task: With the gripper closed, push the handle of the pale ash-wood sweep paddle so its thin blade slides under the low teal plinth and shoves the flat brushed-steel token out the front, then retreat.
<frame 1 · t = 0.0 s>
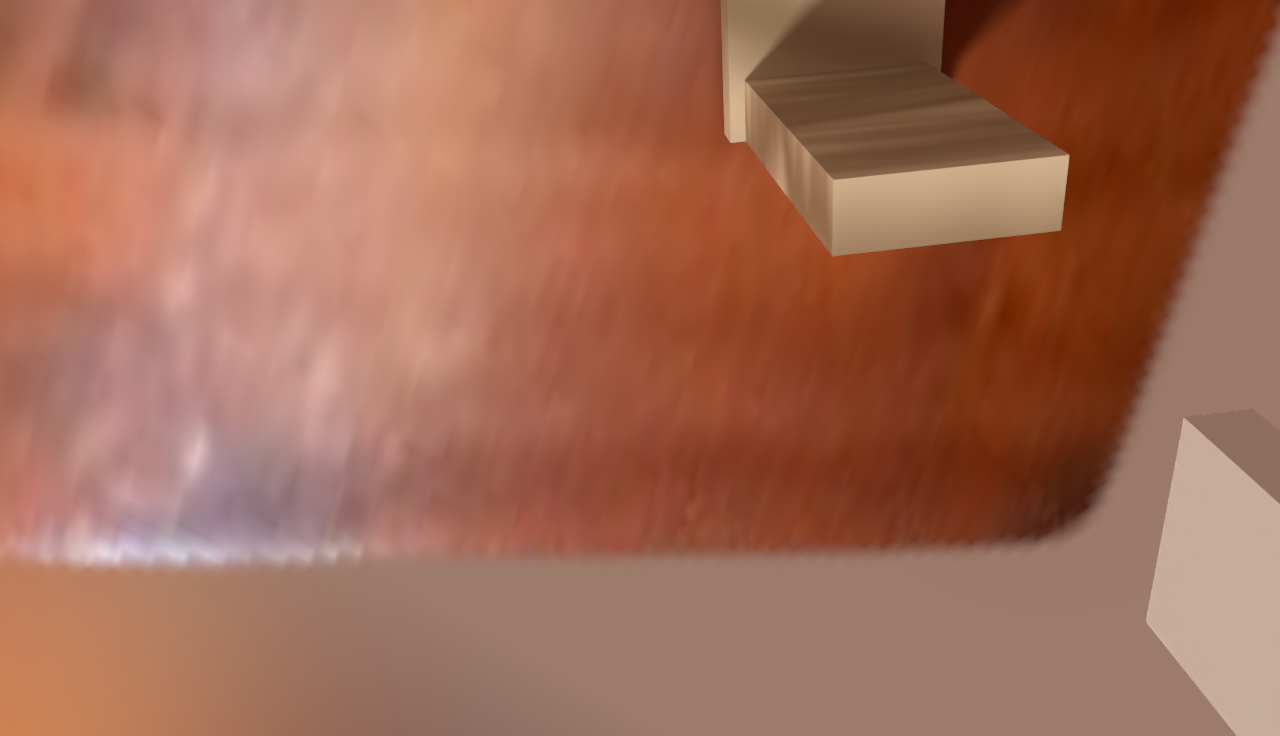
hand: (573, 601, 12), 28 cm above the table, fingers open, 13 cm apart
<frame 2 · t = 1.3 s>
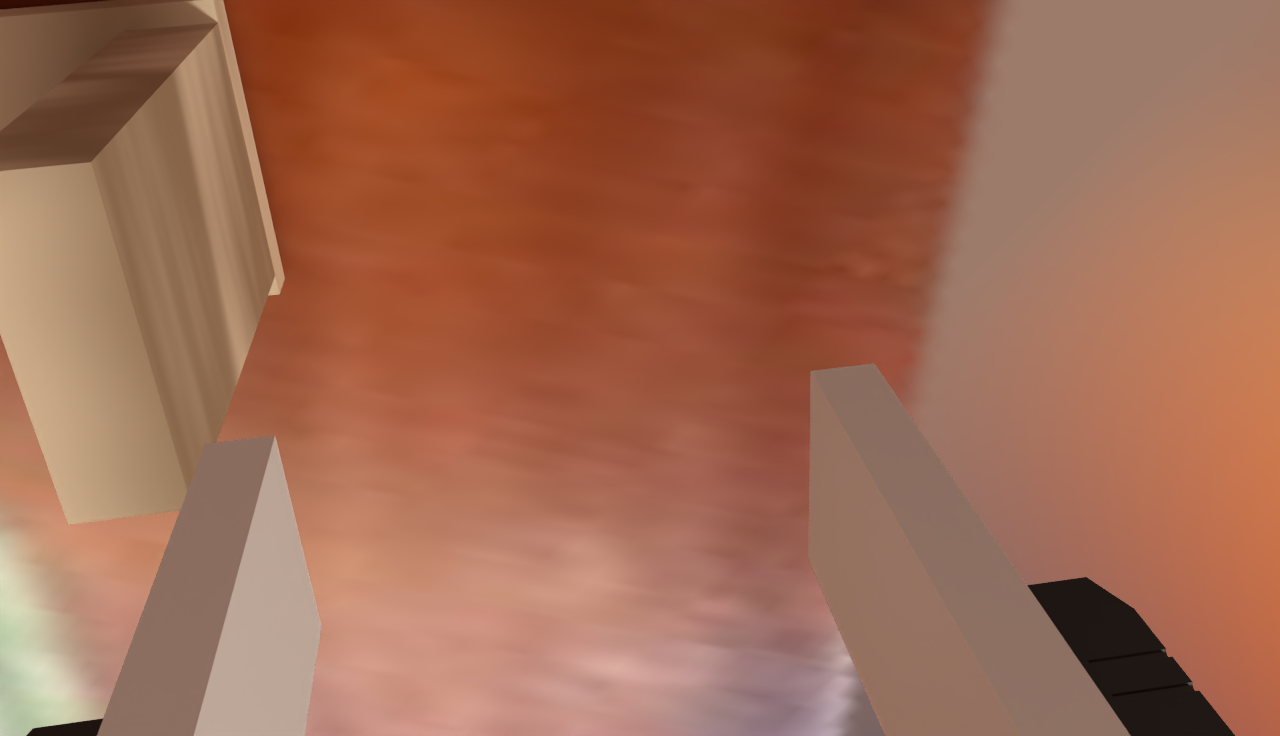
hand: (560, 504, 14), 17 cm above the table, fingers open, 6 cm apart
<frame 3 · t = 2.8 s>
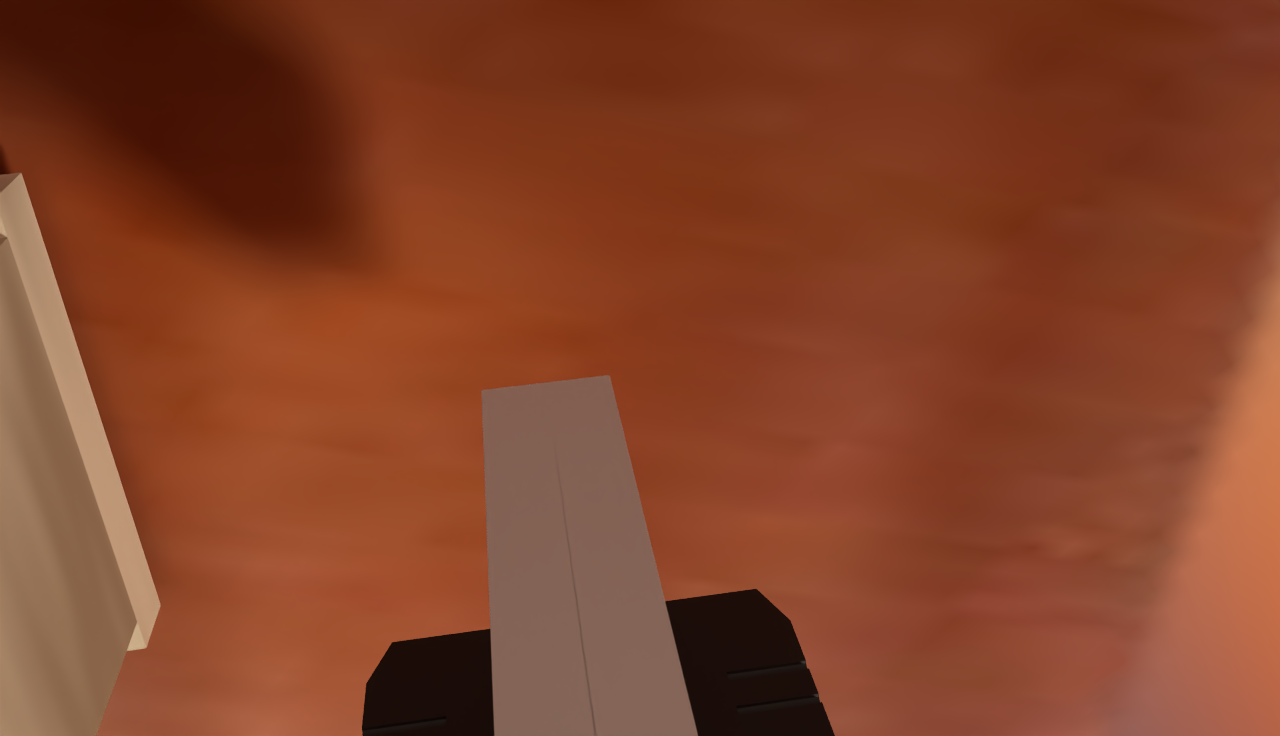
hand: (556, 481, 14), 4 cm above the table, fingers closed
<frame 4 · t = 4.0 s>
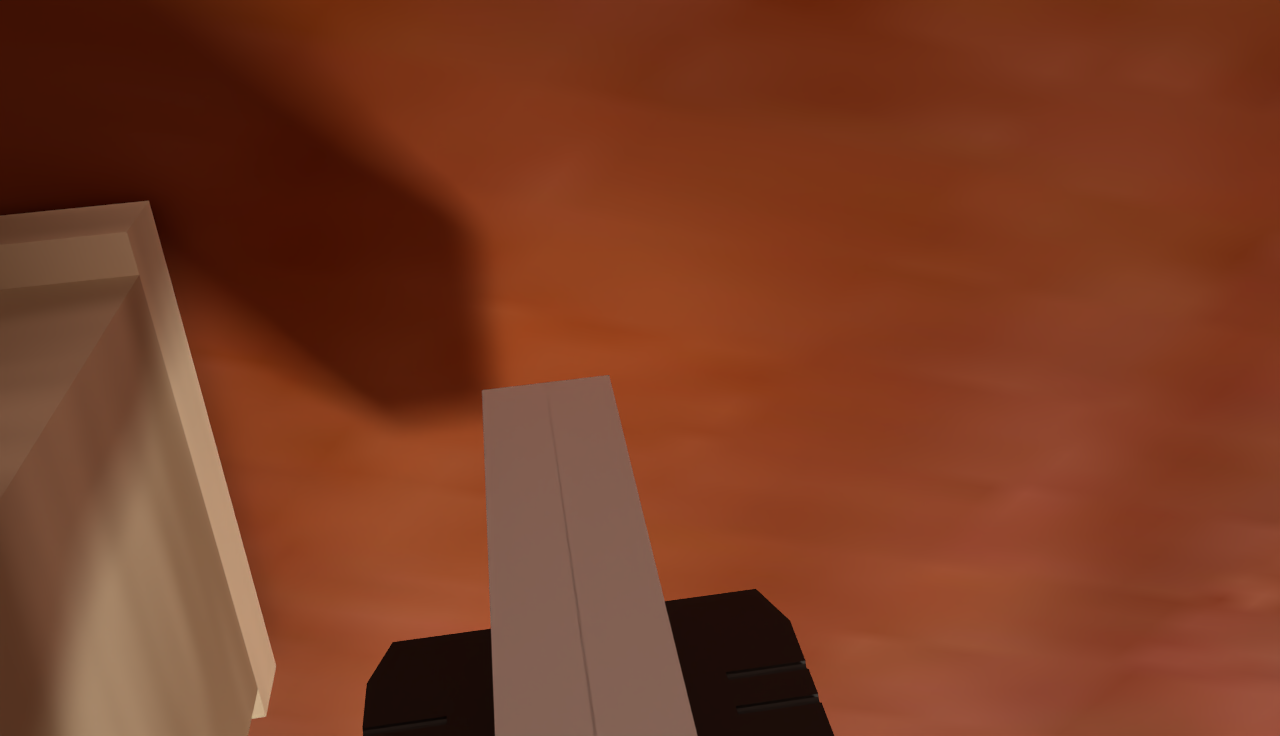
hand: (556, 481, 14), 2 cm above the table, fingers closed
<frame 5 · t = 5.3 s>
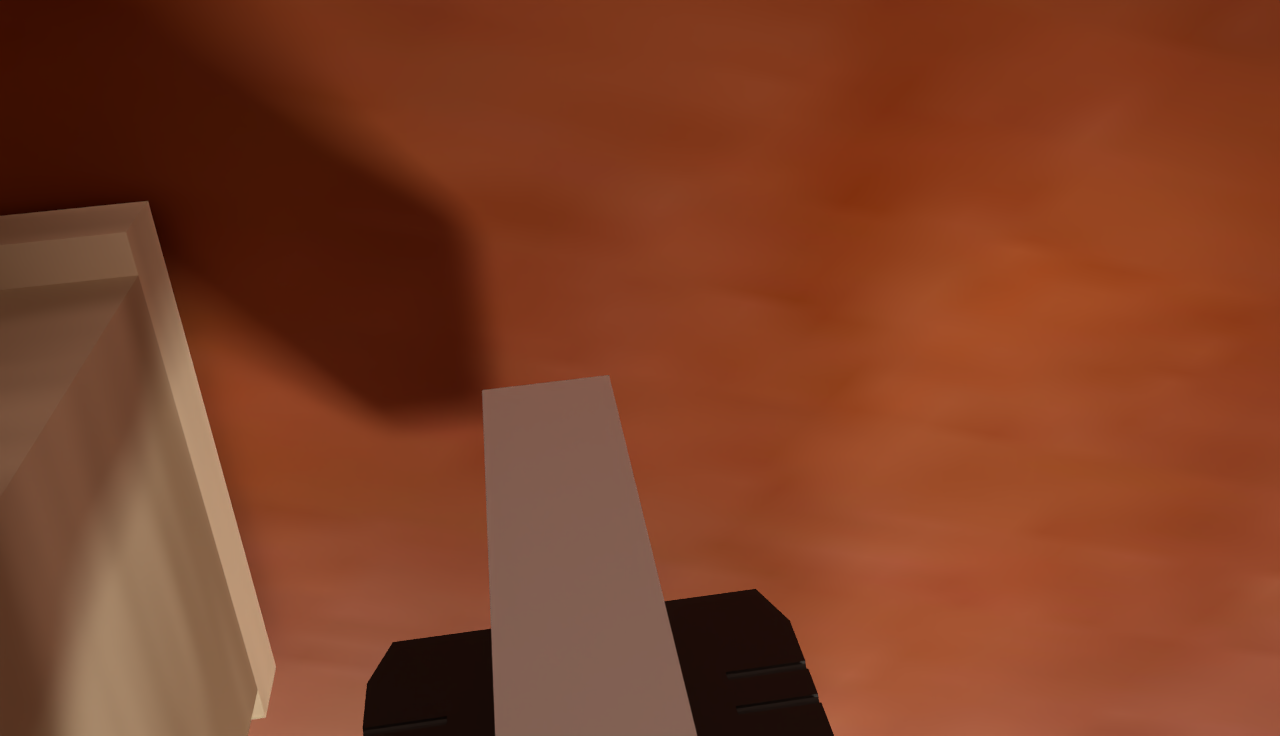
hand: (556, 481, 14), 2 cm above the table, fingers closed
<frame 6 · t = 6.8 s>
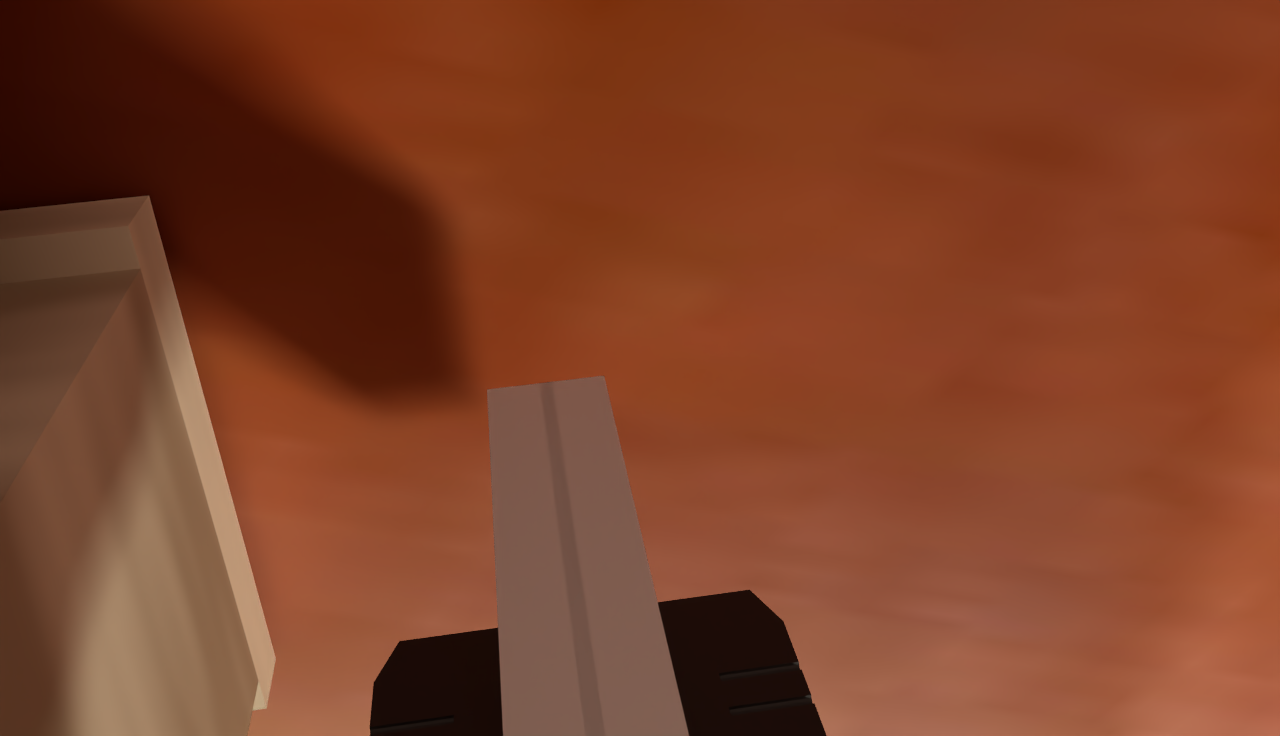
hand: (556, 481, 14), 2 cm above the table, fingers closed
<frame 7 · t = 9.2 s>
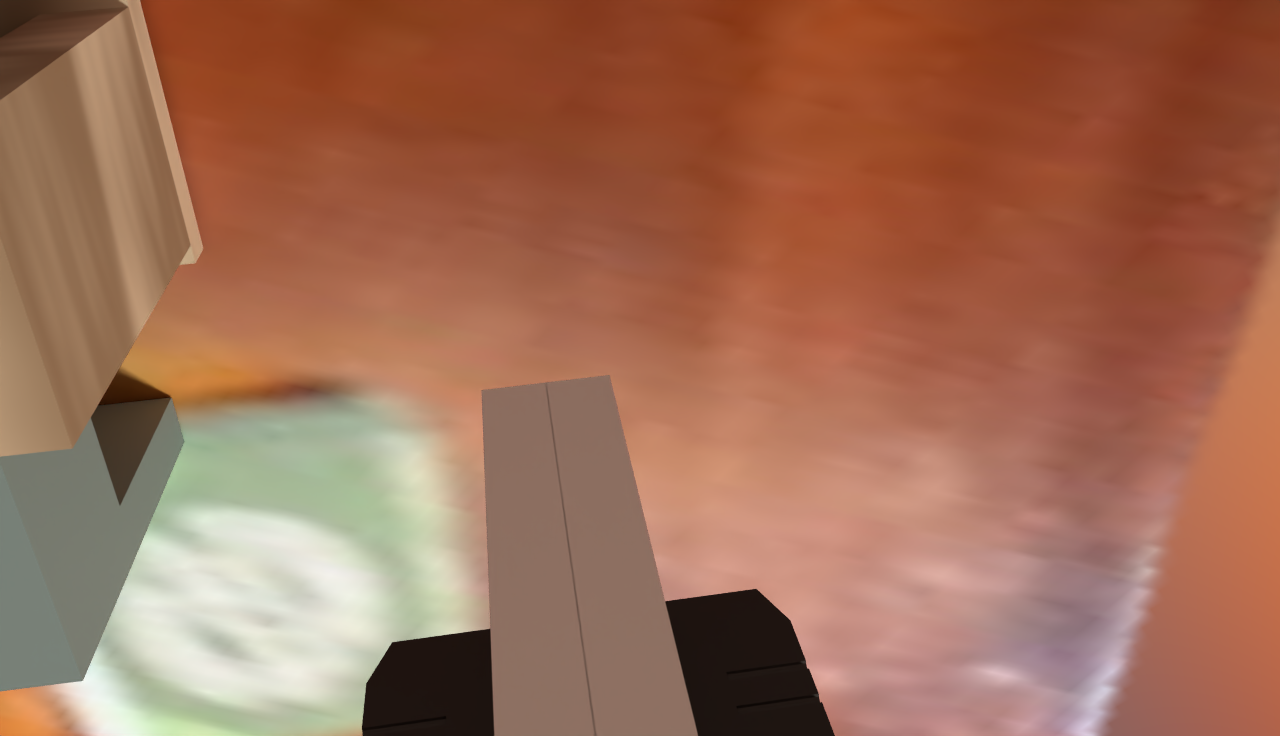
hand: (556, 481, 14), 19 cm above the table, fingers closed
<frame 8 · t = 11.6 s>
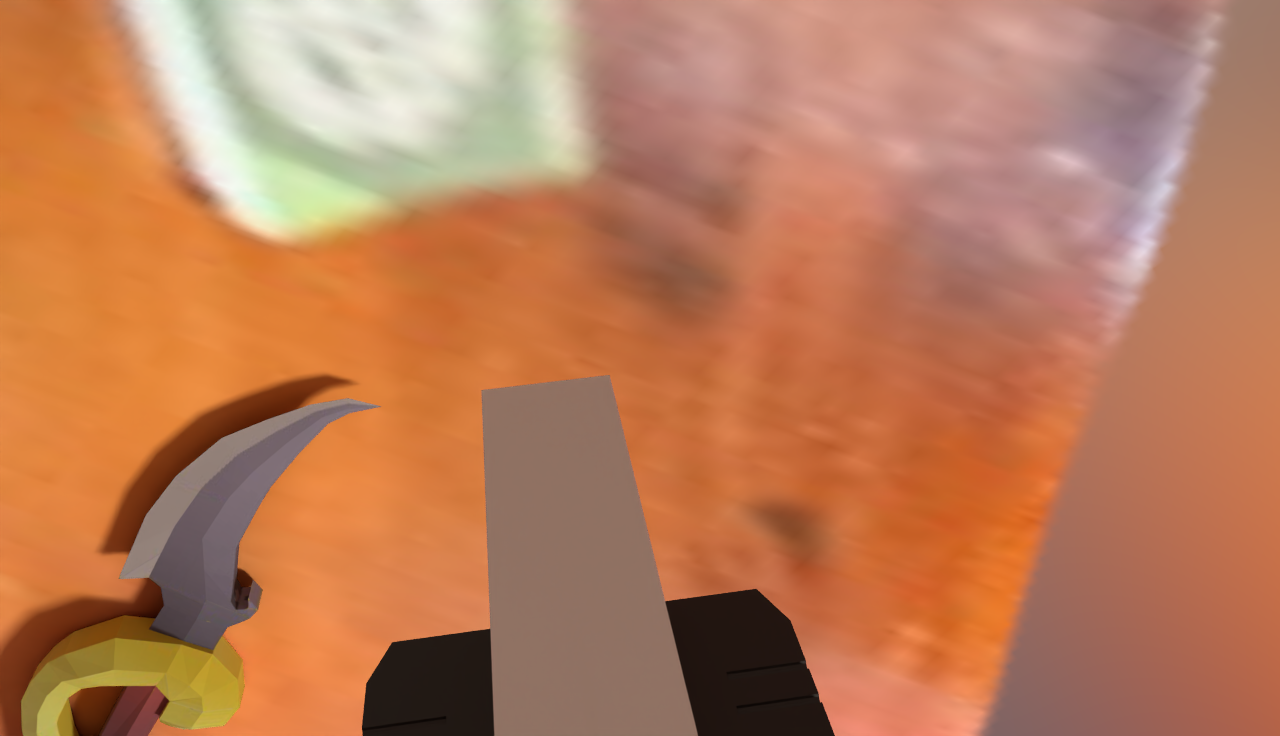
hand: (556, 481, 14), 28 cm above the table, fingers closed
knife: (189, 593, 49), on the table
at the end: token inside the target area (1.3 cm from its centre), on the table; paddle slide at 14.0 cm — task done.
